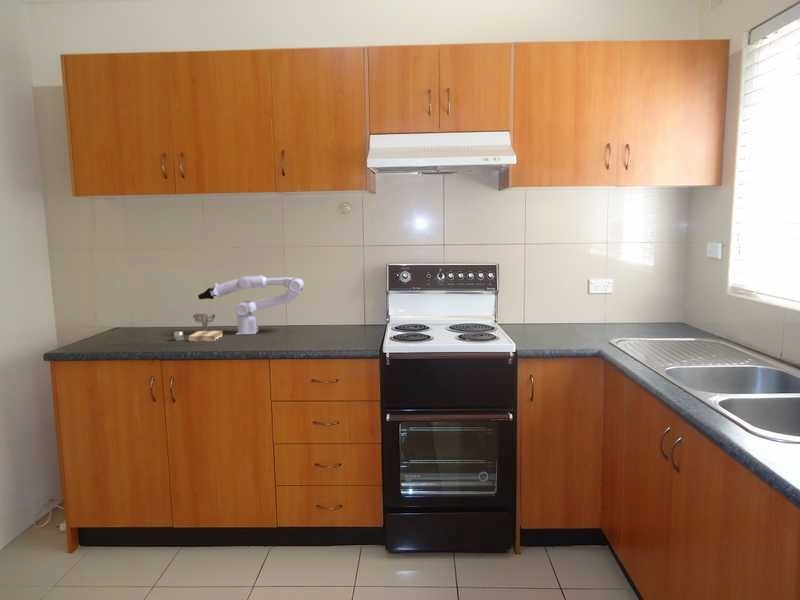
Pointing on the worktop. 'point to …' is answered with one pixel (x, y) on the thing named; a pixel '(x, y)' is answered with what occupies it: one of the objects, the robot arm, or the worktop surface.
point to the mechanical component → (203, 319)
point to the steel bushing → (178, 335)
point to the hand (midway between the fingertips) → (201, 296)
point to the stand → (205, 336)
